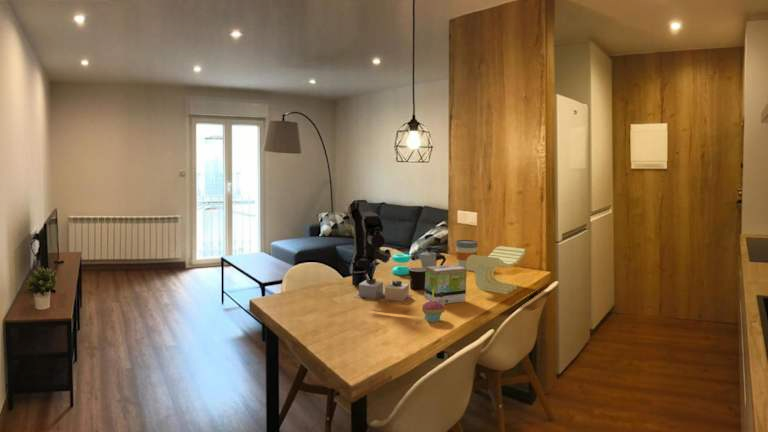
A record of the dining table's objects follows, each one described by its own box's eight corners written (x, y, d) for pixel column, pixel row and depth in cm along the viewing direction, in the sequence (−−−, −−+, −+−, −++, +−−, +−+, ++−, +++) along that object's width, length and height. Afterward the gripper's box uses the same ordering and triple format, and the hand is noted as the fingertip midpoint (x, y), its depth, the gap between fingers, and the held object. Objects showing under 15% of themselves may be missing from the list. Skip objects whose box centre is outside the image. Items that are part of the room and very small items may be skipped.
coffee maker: (413, 283, 238) (414, 247, 236) (419, 279, 246) (419, 244, 244) (442, 286, 232) (443, 249, 230) (447, 282, 240) (448, 246, 238)
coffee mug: (425, 293, 219) (426, 271, 218) (406, 292, 221) (407, 271, 220) (428, 287, 230) (428, 266, 229) (410, 286, 232) (410, 265, 231)
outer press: (384, 299, 206) (384, 286, 205) (392, 293, 215) (392, 281, 214) (402, 301, 203) (402, 288, 202) (409, 295, 212) (409, 283, 211)
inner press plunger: (361, 295, 210) (361, 280, 210) (367, 291, 216) (367, 277, 216) (375, 296, 208) (375, 281, 207) (380, 293, 214) (380, 278, 213)
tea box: (436, 306, 200) (437, 271, 198) (423, 300, 209) (424, 266, 207) (466, 301, 207) (467, 267, 205) (452, 295, 216) (453, 263, 214)
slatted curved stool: (493, 280, 246) (494, 245, 244) (523, 284, 236) (525, 248, 235) (465, 292, 222) (466, 253, 221) (497, 298, 213) (499, 258, 211)
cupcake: (420, 316, 186) (420, 286, 185) (442, 316, 187) (442, 285, 185) (424, 323, 177) (424, 291, 176) (446, 323, 178) (447, 291, 177)
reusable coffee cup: (454, 269, 271) (455, 242, 269) (454, 264, 283) (455, 239, 281) (477, 270, 268) (478, 243, 267) (476, 265, 281) (477, 240, 279)
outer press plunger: (387, 297, 206) (387, 282, 205) (392, 294, 212) (392, 279, 211) (401, 299, 204) (401, 284, 203) (406, 295, 210) (406, 280, 209)
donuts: (414, 254, 259) (404, 257, 251) (414, 273, 260) (404, 276, 252) (398, 252, 265) (388, 255, 257) (398, 270, 266) (388, 274, 258)
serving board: (353, 299, 208) (353, 297, 208) (365, 292, 220) (365, 290, 220) (404, 305, 200) (404, 303, 200) (413, 297, 212) (413, 295, 212)
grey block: (359, 296, 210) (359, 283, 209) (367, 291, 219) (367, 279, 218) (376, 298, 207) (376, 285, 207) (384, 292, 216) (384, 280, 215)
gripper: (380, 248, 198) (380, 286, 200) (395, 242, 216) (395, 276, 217) (355, 246, 202) (355, 283, 204) (372, 240, 220) (372, 274, 221)
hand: (371, 279), depth 212 cm, fingers closed, pressing on inner press plunger
